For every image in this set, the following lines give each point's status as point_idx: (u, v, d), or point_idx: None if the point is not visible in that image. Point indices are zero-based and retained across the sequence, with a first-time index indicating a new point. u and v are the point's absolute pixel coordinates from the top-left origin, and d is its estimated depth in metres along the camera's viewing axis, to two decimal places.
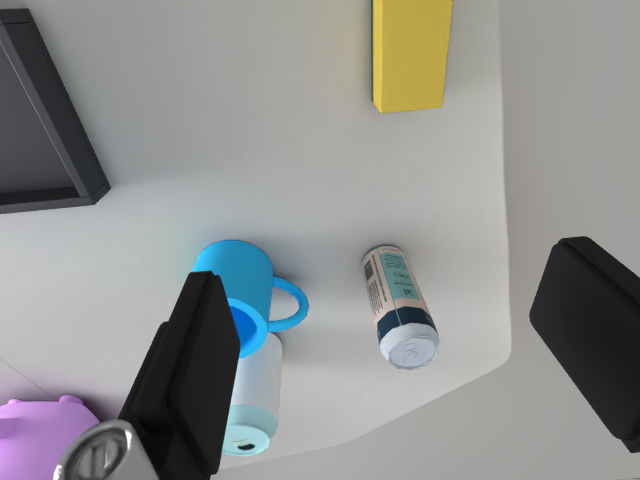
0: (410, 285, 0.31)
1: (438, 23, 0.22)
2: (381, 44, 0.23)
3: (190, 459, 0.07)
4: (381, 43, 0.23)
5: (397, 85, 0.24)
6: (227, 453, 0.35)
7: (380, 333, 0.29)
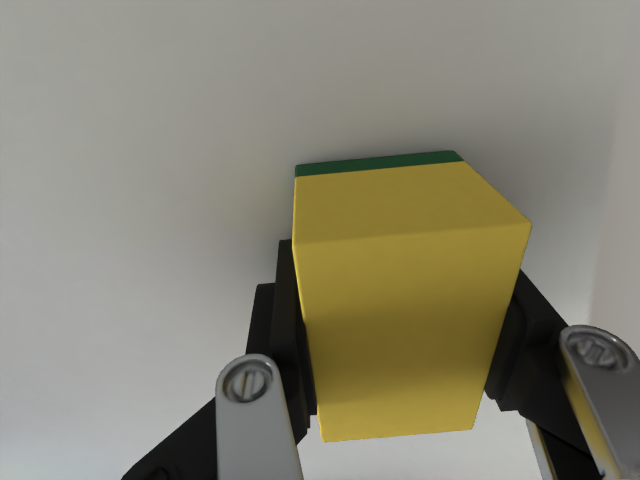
0: None
1: (474, 301, 0.07)
2: None
3: (304, 396, 0.08)
4: (307, 338, 0.08)
5: (358, 405, 0.09)
6: None
7: None
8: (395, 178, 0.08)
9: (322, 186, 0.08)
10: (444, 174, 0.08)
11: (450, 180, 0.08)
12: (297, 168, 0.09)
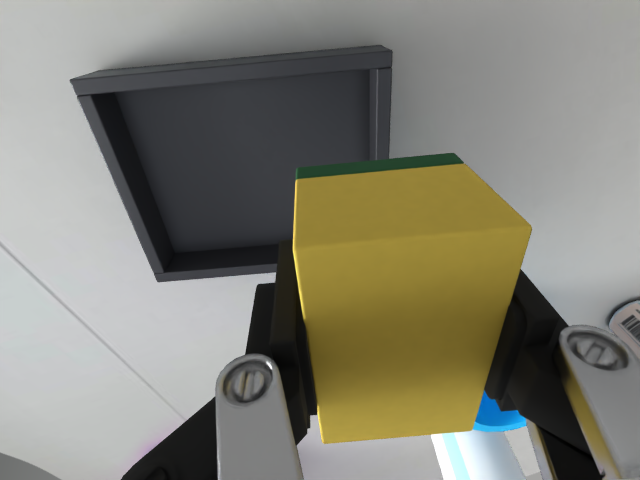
0: None
1: (474, 303, 0.07)
2: (308, 341, 0.08)
3: (304, 396, 0.08)
4: None
5: (358, 406, 0.09)
6: None
7: None
8: (395, 181, 0.08)
9: (323, 189, 0.08)
10: (444, 177, 0.08)
11: (450, 183, 0.08)
12: (298, 170, 0.09)
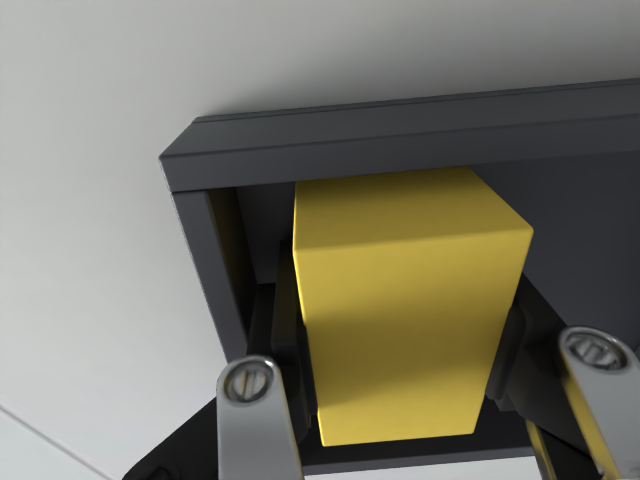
0: None
1: (475, 306, 0.07)
2: None
3: (305, 395, 0.08)
4: None
5: (358, 409, 0.09)
6: None
7: None
8: (396, 182, 0.08)
9: (323, 190, 0.08)
10: (445, 178, 0.08)
11: (451, 184, 0.08)
12: None
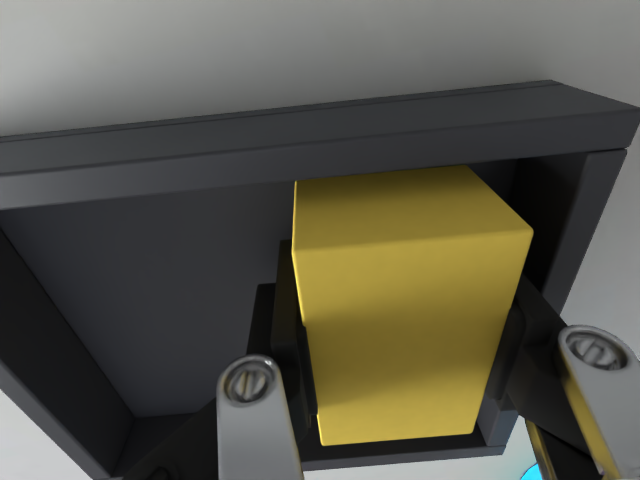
0: None
1: (475, 307, 0.07)
2: None
3: (305, 395, 0.08)
4: None
5: (357, 409, 0.09)
6: None
7: None
8: (396, 182, 0.08)
9: (322, 190, 0.08)
10: (445, 178, 0.08)
11: (451, 184, 0.08)
12: None
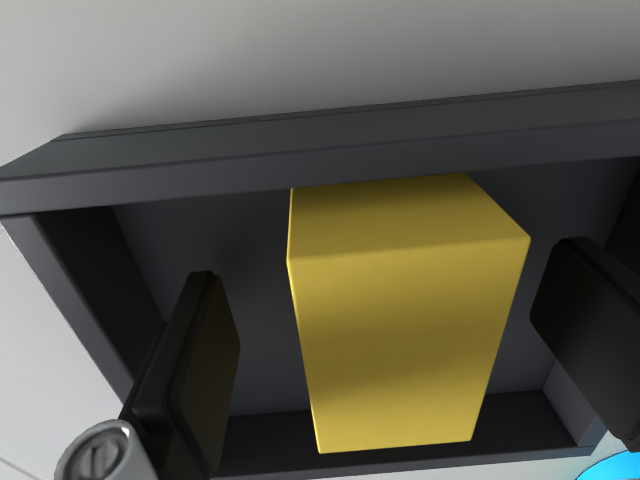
0: None
1: (472, 315, 0.07)
2: None
3: (190, 459, 0.07)
4: None
5: (355, 417, 0.09)
6: None
7: None
8: (393, 188, 0.08)
9: (318, 196, 0.08)
10: (442, 184, 0.08)
11: (448, 191, 0.08)
12: None
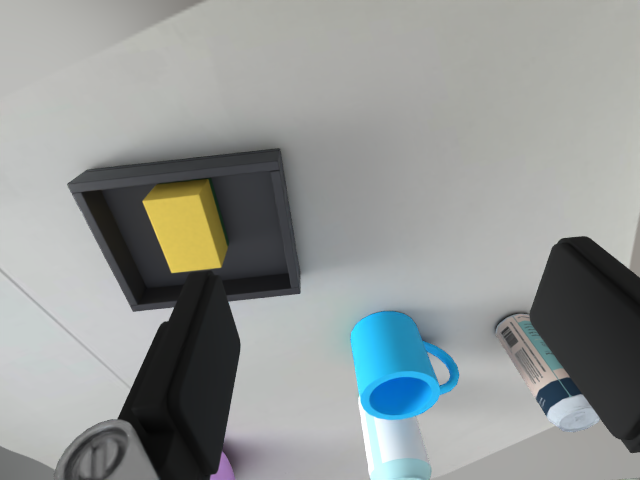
0: None
1: (195, 216, 0.28)
2: (155, 230, 0.28)
3: (190, 459, 0.07)
4: (154, 229, 0.28)
5: (177, 255, 0.29)
6: None
7: (547, 401, 0.34)
8: (182, 184, 0.29)
9: (161, 187, 0.29)
10: (196, 183, 0.29)
11: (195, 184, 0.28)
12: None
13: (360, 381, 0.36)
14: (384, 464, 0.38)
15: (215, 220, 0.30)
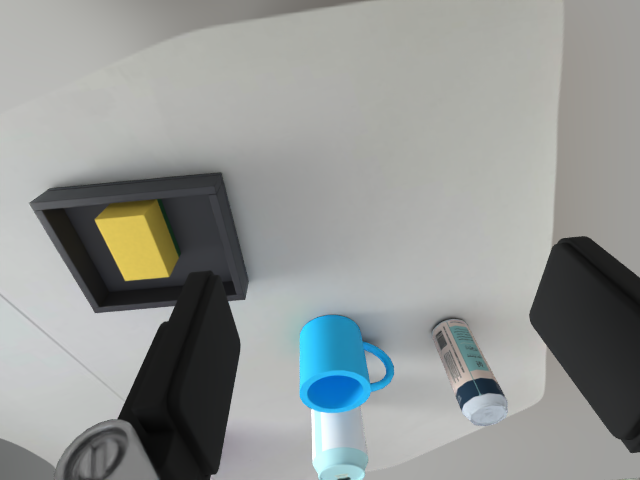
0: (480, 357, 0.40)
1: (142, 233, 0.31)
2: (107, 244, 0.32)
3: (190, 459, 0.07)
4: (107, 243, 0.32)
5: (129, 265, 0.33)
6: None
7: (462, 398, 0.38)
8: (133, 203, 0.32)
9: (114, 206, 0.32)
10: (145, 202, 0.32)
11: (144, 204, 0.32)
12: None
13: (300, 378, 0.40)
14: (323, 452, 0.43)
15: (163, 235, 0.34)
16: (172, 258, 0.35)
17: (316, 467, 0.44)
